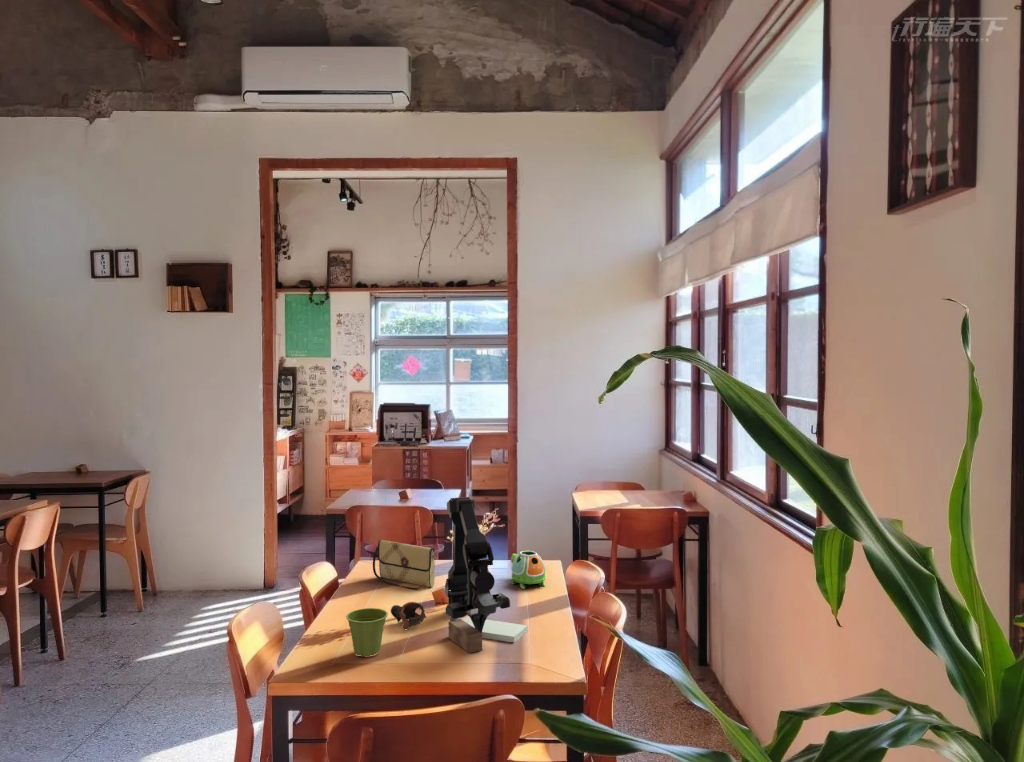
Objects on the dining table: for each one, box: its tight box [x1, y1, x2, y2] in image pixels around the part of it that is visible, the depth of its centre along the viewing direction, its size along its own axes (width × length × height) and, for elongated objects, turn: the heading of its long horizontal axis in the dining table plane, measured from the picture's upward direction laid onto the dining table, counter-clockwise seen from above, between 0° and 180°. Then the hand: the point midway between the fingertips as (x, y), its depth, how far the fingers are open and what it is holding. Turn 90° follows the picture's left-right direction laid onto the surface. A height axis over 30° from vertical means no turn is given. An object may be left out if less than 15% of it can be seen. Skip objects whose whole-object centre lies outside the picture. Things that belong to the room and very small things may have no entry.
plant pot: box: [345, 607, 389, 657], centre depth 211 cm, size 12×12×11 cm
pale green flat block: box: [464, 617, 529, 644], centre depth 226 cm, size 20×10×2 cm, turn 65°
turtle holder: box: [510, 550, 546, 590], centre depth 276 cm, size 12×18×12 cm
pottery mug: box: [390, 601, 427, 630], centre depth 233 cm, size 12×10×8 cm
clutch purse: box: [372, 539, 436, 590], centre depth 277 cm, size 30×7×15 cm, turn 56°
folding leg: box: [448, 617, 483, 654], centre depth 217 cm, size 16×4×5 cm, turn 30°
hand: (479, 634), depth 216 cm, fingers closed
